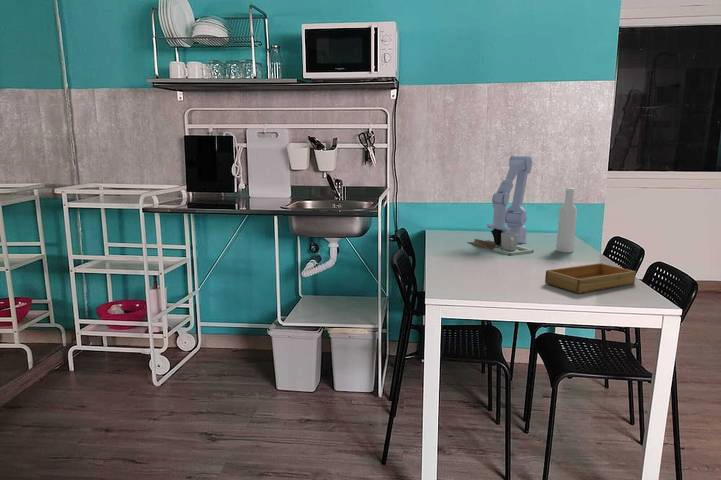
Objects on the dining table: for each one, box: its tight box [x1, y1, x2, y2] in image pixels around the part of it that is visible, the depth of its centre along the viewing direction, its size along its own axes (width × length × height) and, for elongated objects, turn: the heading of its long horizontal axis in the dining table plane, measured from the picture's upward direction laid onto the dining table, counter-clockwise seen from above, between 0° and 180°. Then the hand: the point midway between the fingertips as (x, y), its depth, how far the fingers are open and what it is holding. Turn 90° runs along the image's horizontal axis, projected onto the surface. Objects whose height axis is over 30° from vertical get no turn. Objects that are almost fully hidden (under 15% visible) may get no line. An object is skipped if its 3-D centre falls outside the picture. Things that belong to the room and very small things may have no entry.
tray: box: [544, 262, 637, 294], centre depth 198 cm, size 31×15×6 cm, turn 119°
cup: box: [500, 232, 518, 252], centre depth 254 cm, size 11×8×8 cm
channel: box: [473, 238, 501, 251], centre depth 264 cm, size 14×14×3 cm
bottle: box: [555, 187, 578, 254], centre depth 253 cm, size 8×8×30 cm
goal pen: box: [493, 245, 534, 256], centre depth 253 cm, size 14×11×1 cm
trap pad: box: [467, 239, 495, 246], centre depth 273 cm, size 14×5×1 cm, turn 117°
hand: (497, 244), depth 263 cm, fingers closed
